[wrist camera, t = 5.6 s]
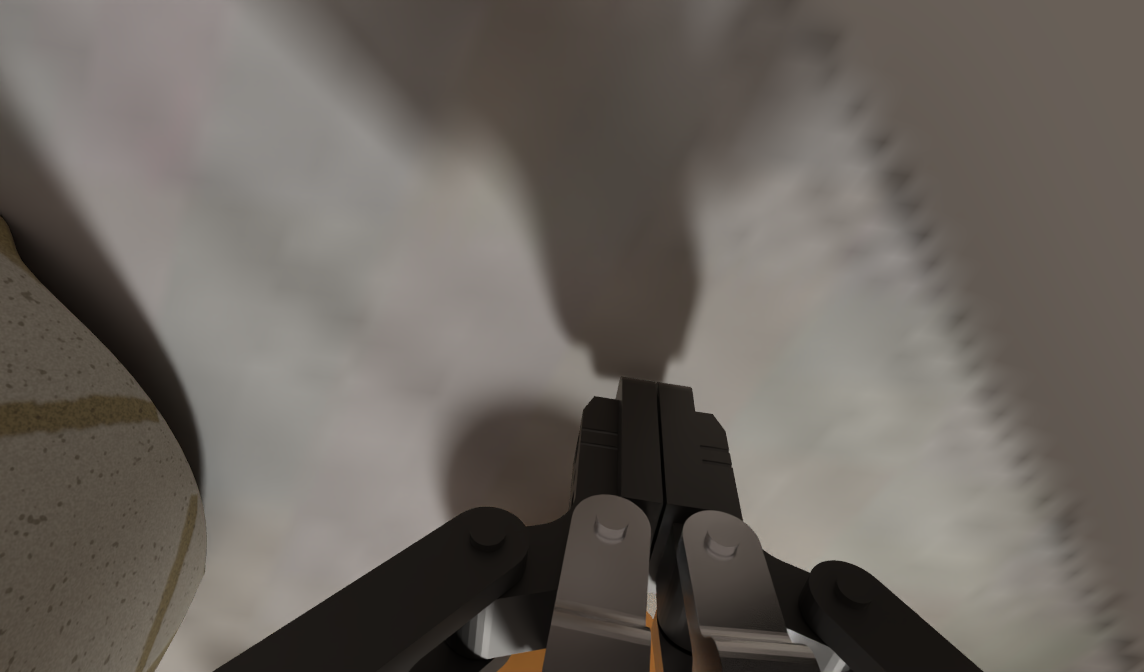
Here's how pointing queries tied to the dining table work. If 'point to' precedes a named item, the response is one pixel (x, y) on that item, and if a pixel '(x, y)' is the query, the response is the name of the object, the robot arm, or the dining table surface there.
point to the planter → (85, 497)
